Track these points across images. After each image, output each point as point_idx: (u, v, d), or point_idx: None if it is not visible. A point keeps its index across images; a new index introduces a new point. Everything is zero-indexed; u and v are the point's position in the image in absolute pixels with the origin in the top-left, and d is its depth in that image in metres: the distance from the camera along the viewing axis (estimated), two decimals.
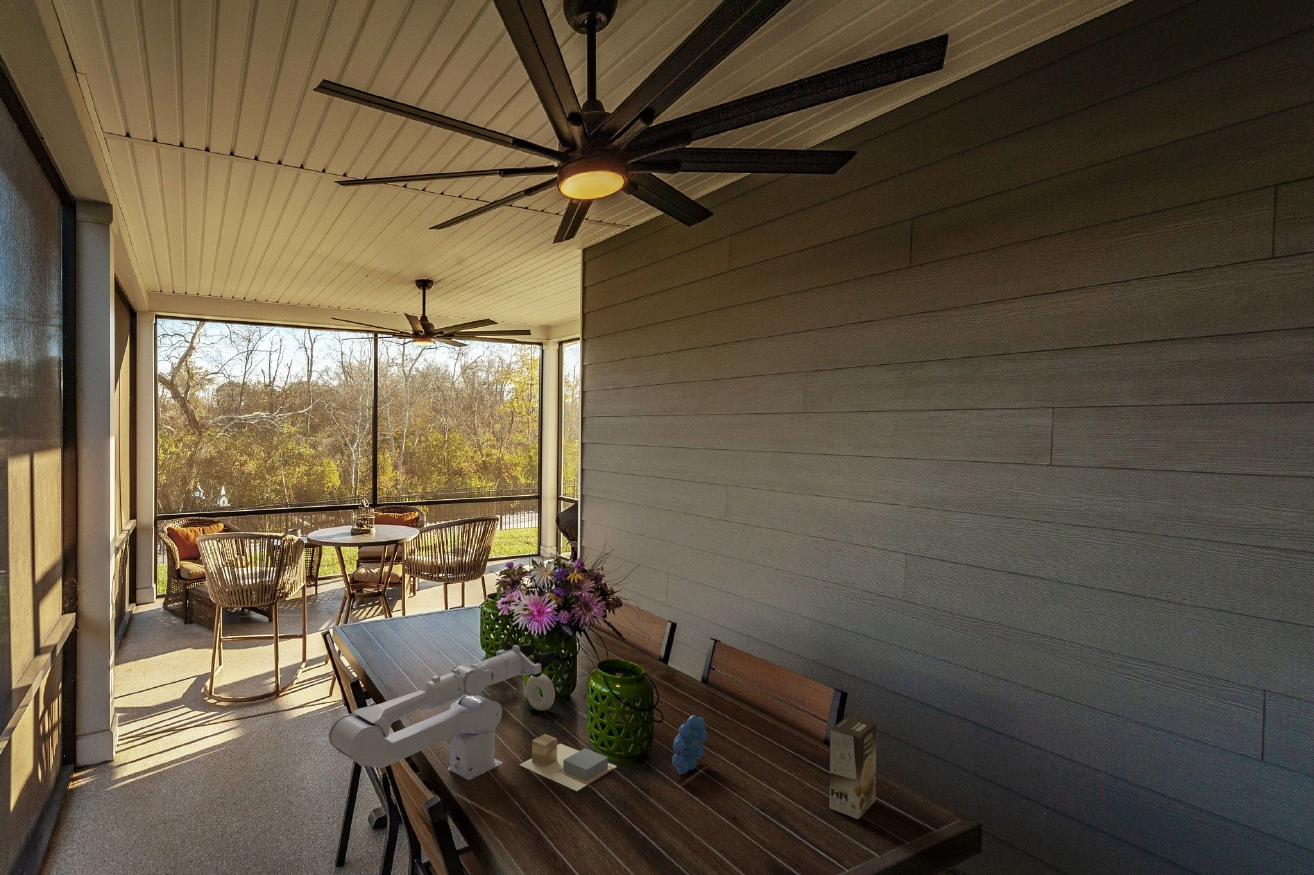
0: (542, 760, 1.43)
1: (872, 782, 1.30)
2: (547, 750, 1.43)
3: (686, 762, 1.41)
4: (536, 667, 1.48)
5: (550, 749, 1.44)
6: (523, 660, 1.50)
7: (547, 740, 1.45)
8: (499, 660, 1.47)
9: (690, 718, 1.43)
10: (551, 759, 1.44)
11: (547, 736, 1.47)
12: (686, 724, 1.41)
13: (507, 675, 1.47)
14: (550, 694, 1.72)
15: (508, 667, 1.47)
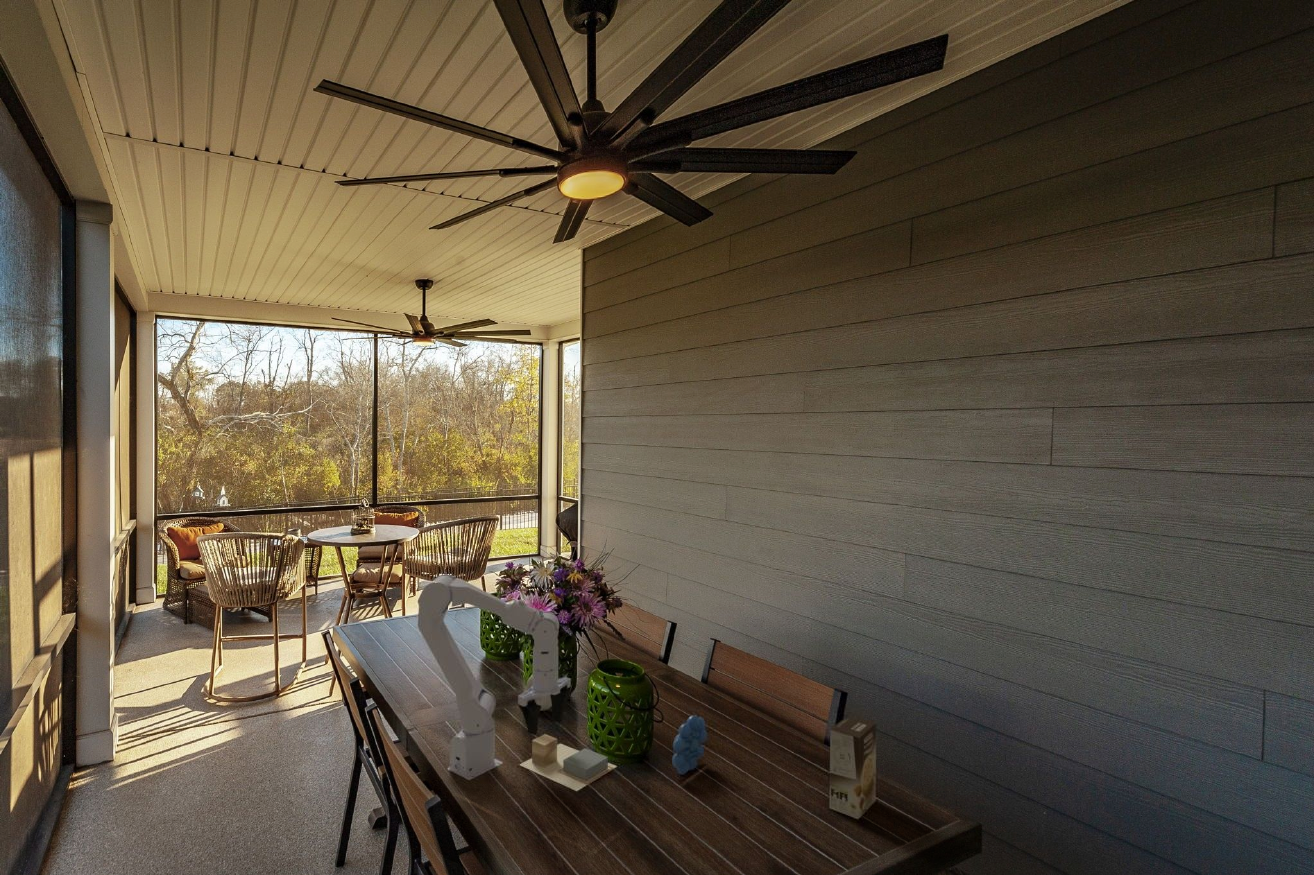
0: (542, 760, 1.43)
1: (872, 782, 1.30)
2: (547, 750, 1.43)
3: (686, 762, 1.41)
4: (522, 699, 1.39)
5: (550, 749, 1.44)
6: (539, 693, 1.42)
7: (547, 740, 1.45)
8: (556, 664, 1.44)
9: (690, 718, 1.43)
10: (551, 759, 1.44)
11: (547, 736, 1.47)
12: (686, 724, 1.41)
13: (533, 670, 1.44)
14: None
15: (539, 673, 1.43)
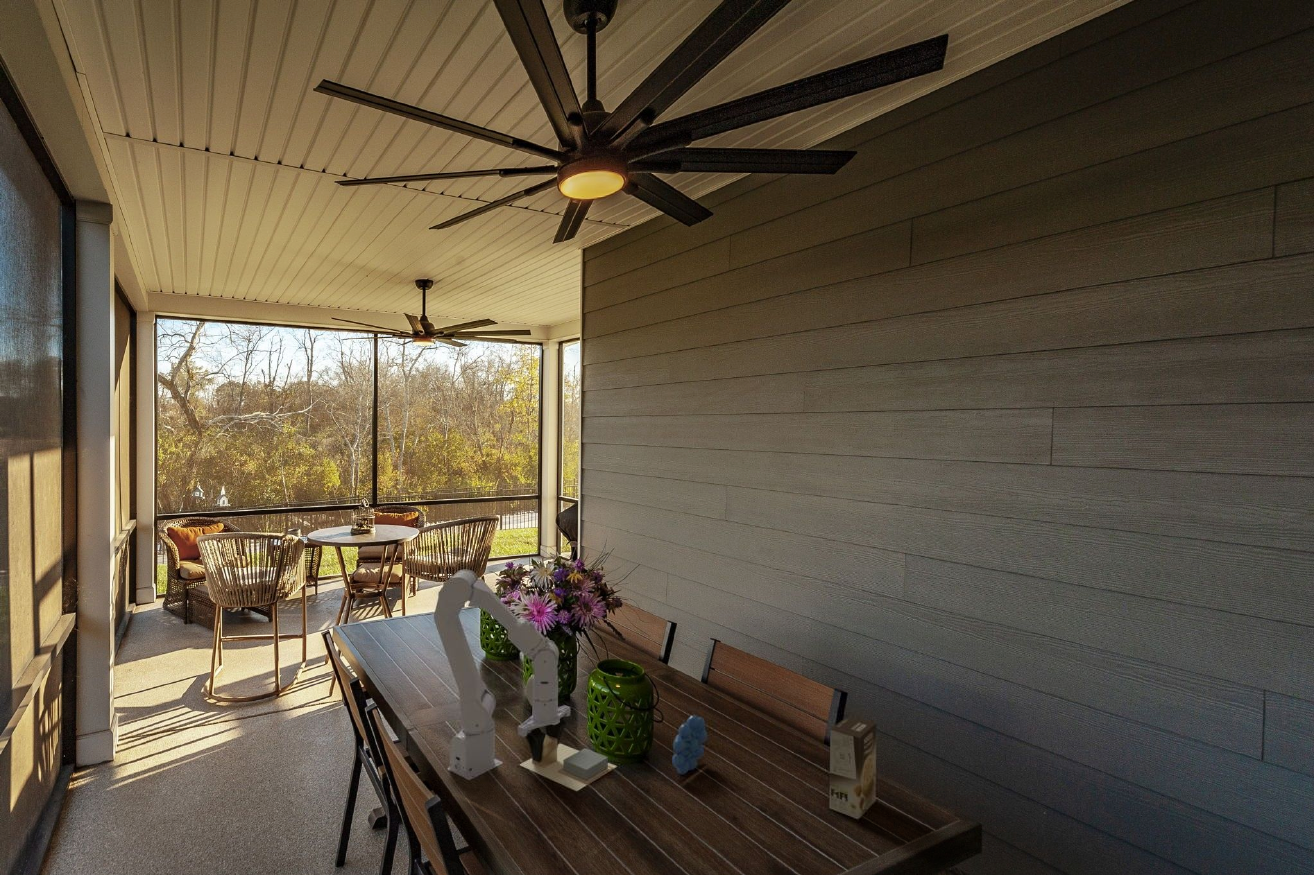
0: (542, 760, 1.43)
1: (872, 782, 1.30)
2: (547, 750, 1.43)
3: (686, 762, 1.41)
4: (522, 730, 1.39)
5: (550, 749, 1.44)
6: (539, 723, 1.42)
7: (547, 740, 1.45)
8: (555, 693, 1.44)
9: (690, 718, 1.43)
10: (551, 759, 1.44)
11: (547, 736, 1.47)
12: (686, 724, 1.41)
13: (533, 700, 1.44)
14: None
15: (538, 703, 1.43)
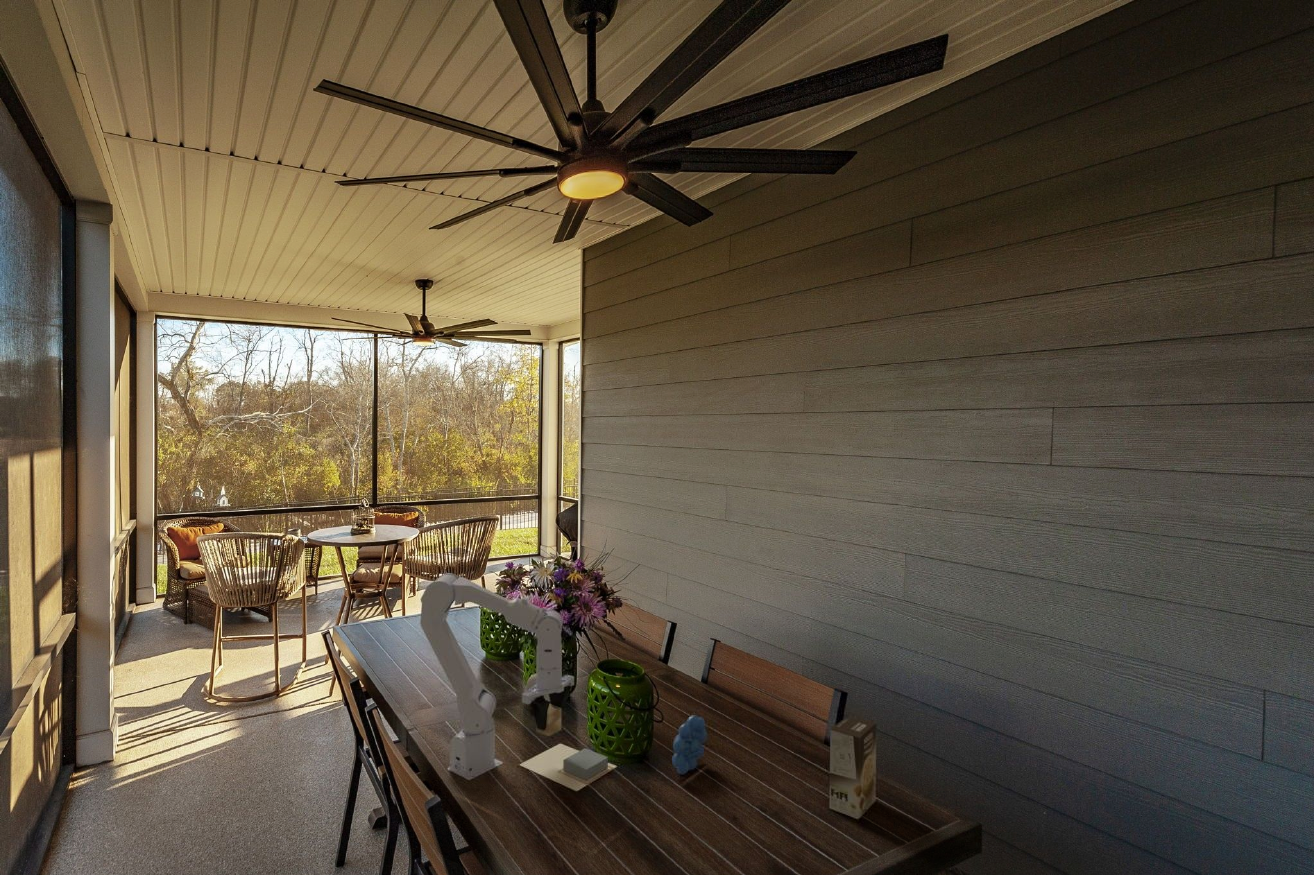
0: (547, 729, 1.42)
1: (872, 782, 1.30)
2: (552, 719, 1.43)
3: (686, 762, 1.41)
4: (526, 697, 1.39)
5: (554, 718, 1.44)
6: (543, 691, 1.42)
7: (551, 709, 1.45)
8: (559, 662, 1.44)
9: (690, 718, 1.43)
10: (555, 728, 1.44)
11: (551, 705, 1.47)
12: (686, 724, 1.41)
13: (537, 668, 1.44)
14: None
15: (542, 671, 1.43)
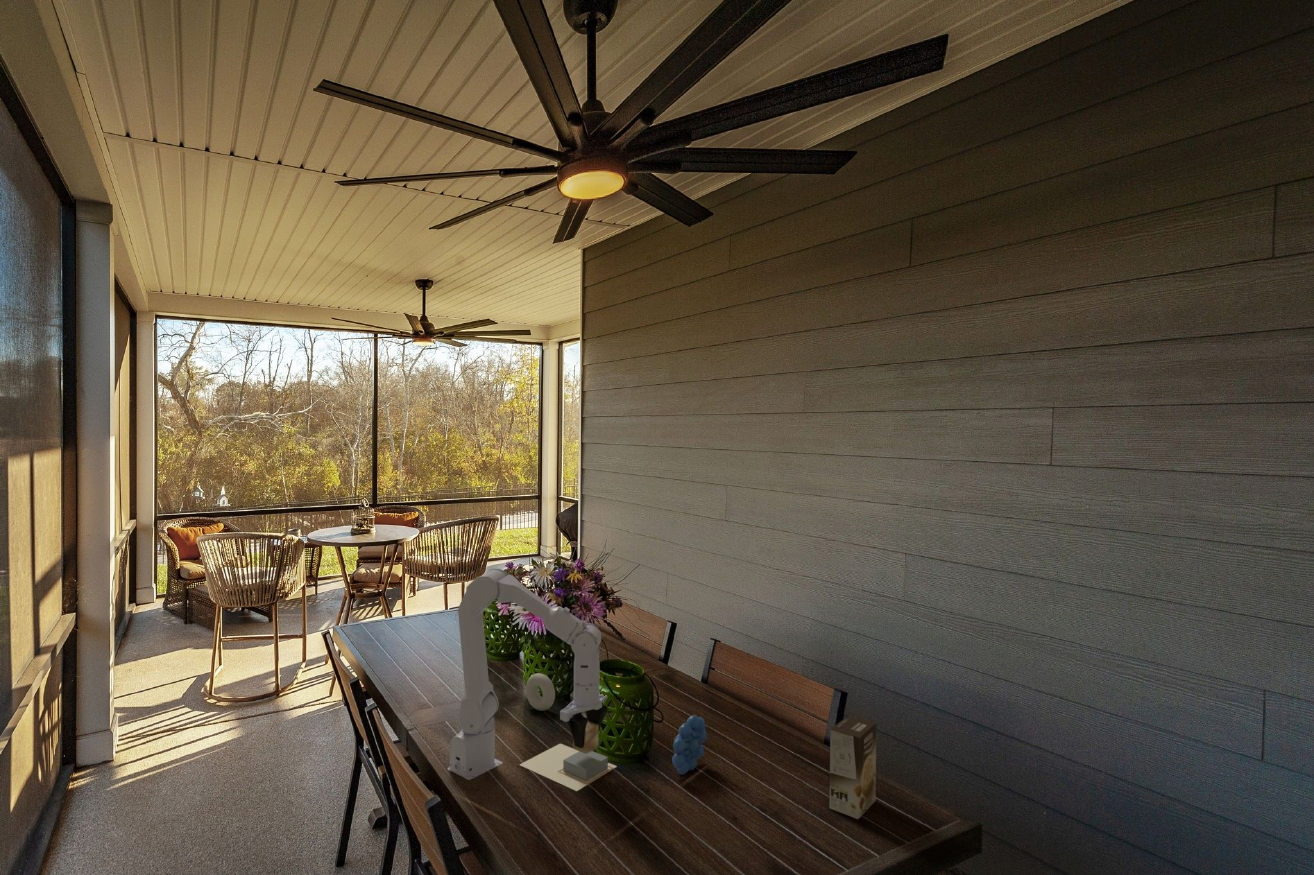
0: (584, 747, 1.39)
1: (872, 782, 1.30)
2: (589, 736, 1.40)
3: (686, 762, 1.41)
4: (565, 714, 1.36)
5: (591, 735, 1.40)
6: (581, 707, 1.39)
7: (588, 726, 1.41)
8: (596, 678, 1.40)
9: (690, 718, 1.43)
10: (593, 745, 1.41)
11: (588, 722, 1.43)
12: (686, 724, 1.41)
13: (574, 684, 1.40)
14: (551, 694, 1.72)
15: (580, 687, 1.39)
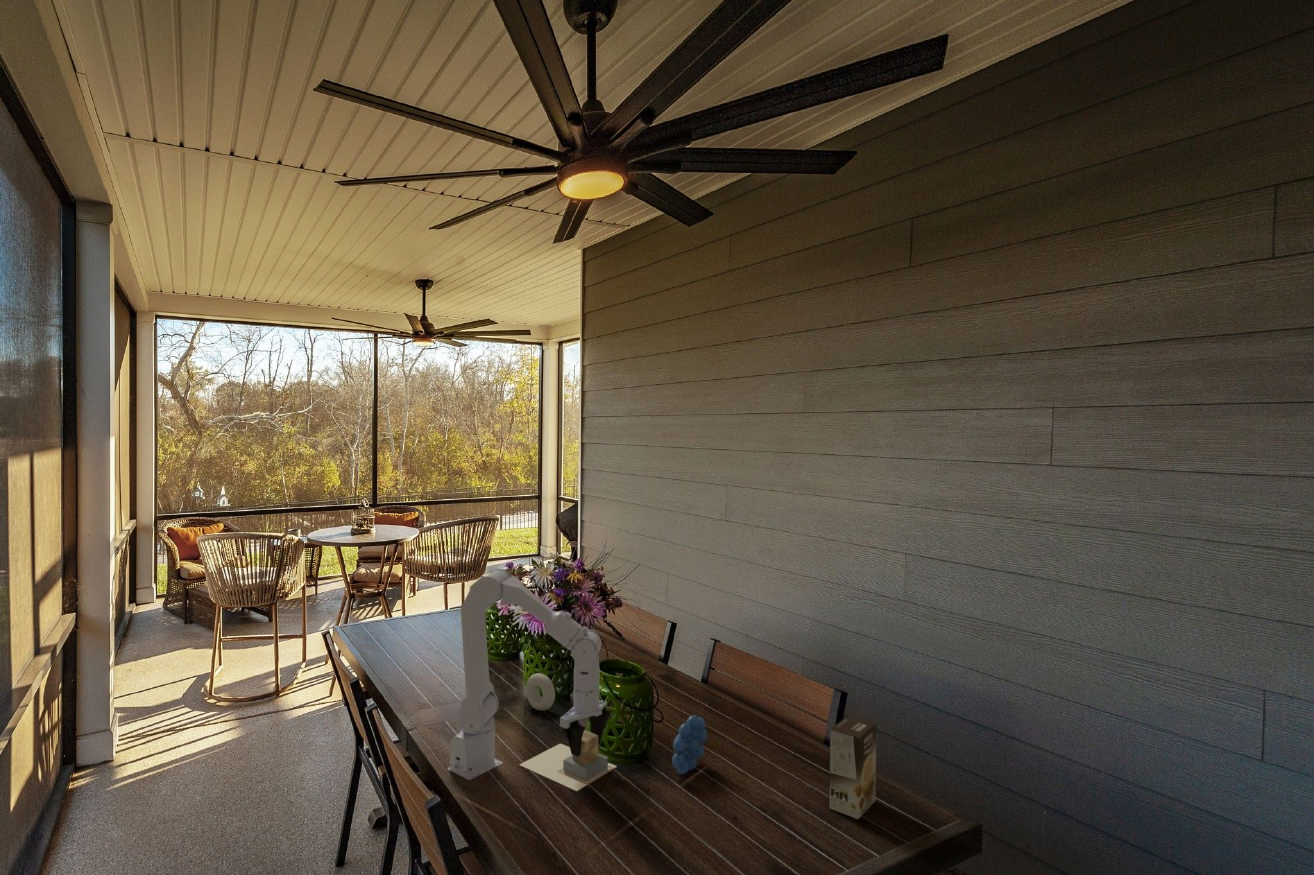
0: (584, 757, 1.39)
1: (872, 782, 1.30)
2: (589, 747, 1.40)
3: (686, 762, 1.41)
4: (565, 721, 1.36)
5: (591, 746, 1.40)
6: (581, 714, 1.39)
7: (588, 737, 1.41)
8: (596, 685, 1.40)
9: (690, 718, 1.43)
10: (592, 756, 1.41)
11: (587, 732, 1.43)
12: (686, 724, 1.41)
13: (574, 691, 1.40)
14: (551, 694, 1.72)
15: (580, 694, 1.39)
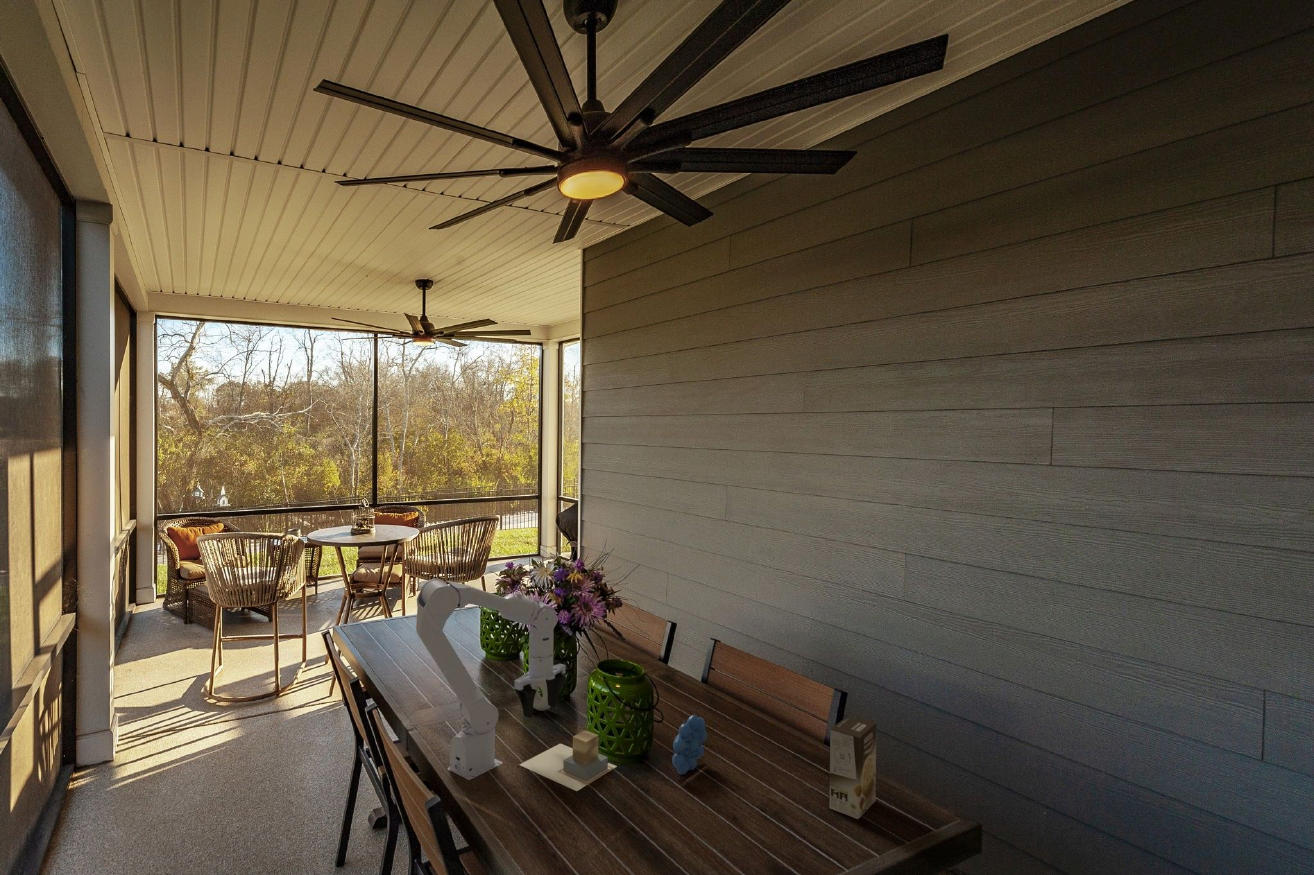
0: (584, 757, 1.39)
1: (872, 782, 1.30)
2: (589, 747, 1.40)
3: (686, 762, 1.41)
4: (518, 683, 1.46)
5: (591, 746, 1.40)
6: (535, 678, 1.49)
7: (588, 737, 1.41)
8: None
9: (690, 718, 1.43)
10: (592, 756, 1.41)
11: (587, 732, 1.43)
12: (686, 724, 1.41)
13: (529, 656, 1.51)
14: None
15: (534, 659, 1.49)
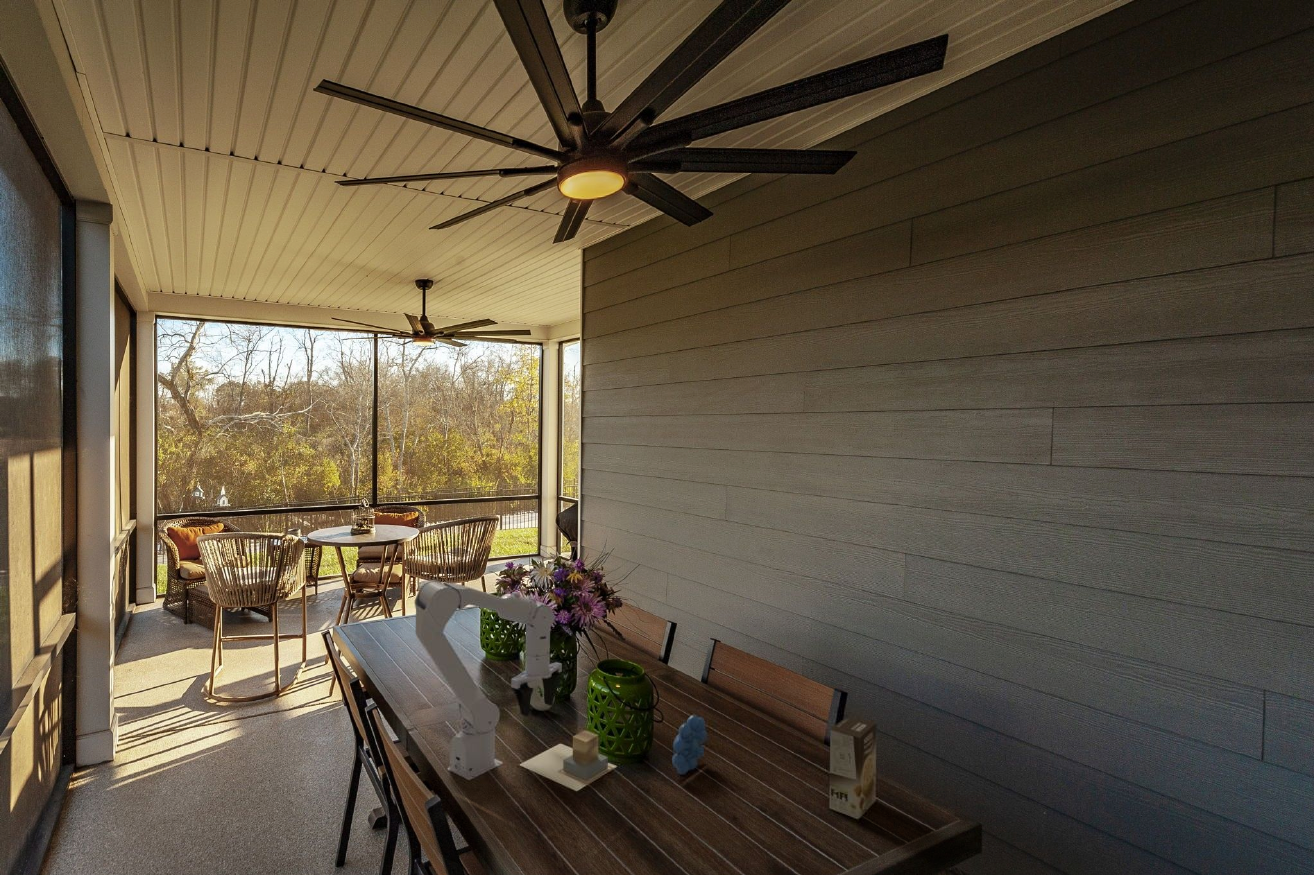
0: (584, 757, 1.39)
1: (872, 782, 1.30)
2: (589, 747, 1.40)
3: (686, 762, 1.41)
4: (515, 682, 1.47)
5: (591, 746, 1.40)
6: (531, 676, 1.50)
7: (588, 737, 1.41)
8: (549, 647, 1.53)
9: (690, 718, 1.43)
10: (592, 756, 1.41)
11: (587, 732, 1.43)
12: (686, 724, 1.41)
13: (526, 655, 1.51)
14: None
15: (531, 657, 1.50)
